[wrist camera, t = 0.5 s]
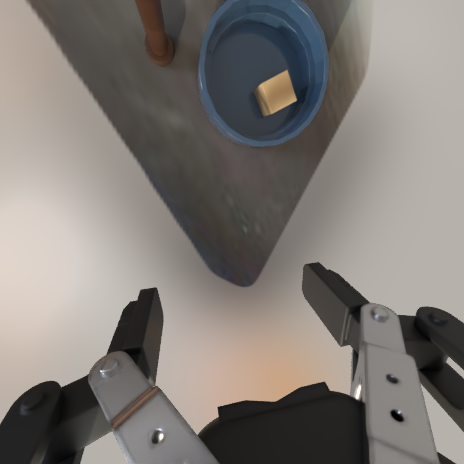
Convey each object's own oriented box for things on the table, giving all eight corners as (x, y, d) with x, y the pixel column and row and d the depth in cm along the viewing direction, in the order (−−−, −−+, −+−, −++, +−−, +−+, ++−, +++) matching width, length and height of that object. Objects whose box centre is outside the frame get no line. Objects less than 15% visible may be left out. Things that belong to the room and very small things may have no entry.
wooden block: (253, 90, 34) (261, 83, 30) (276, 78, 34) (287, 69, 30) (263, 117, 35) (272, 113, 32) (285, 105, 35) (297, 100, 32)
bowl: (187, 14, 30) (187, -14, 25) (308, 10, 32) (331, -17, 27) (207, 152, 36) (210, 153, 31) (307, 140, 38) (326, 138, 33)
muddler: (143, 34, 30) (106, -67, 16) (170, 33, 30) (158, -67, 16) (150, 67, 31) (121, -1, 17) (176, 65, 31) (169, -2, 18)
